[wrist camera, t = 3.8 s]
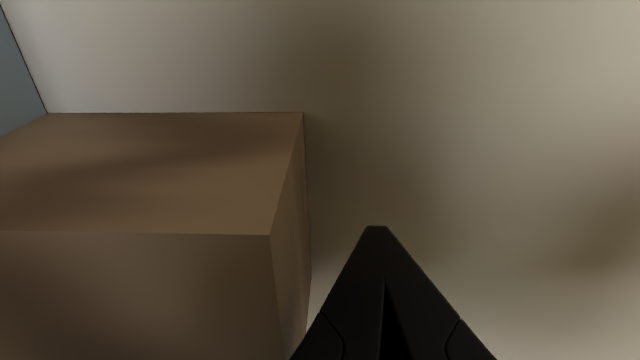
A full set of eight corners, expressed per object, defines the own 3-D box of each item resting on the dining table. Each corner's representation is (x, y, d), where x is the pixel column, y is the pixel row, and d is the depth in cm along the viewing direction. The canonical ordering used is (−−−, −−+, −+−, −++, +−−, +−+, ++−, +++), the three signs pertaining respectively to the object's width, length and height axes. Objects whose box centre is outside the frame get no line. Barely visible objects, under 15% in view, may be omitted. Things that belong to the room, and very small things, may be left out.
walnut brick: (302, 112, 9) (268, 234, 5) (311, 277, 12) (294, 441, 8) (47, 113, 10) (-181, 227, 6) (116, 272, 13) (3, 426, 9)
